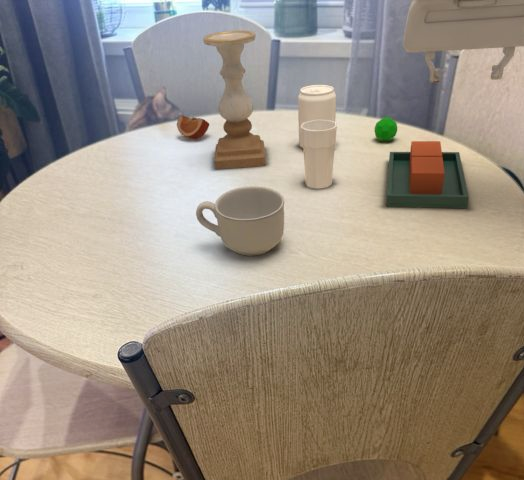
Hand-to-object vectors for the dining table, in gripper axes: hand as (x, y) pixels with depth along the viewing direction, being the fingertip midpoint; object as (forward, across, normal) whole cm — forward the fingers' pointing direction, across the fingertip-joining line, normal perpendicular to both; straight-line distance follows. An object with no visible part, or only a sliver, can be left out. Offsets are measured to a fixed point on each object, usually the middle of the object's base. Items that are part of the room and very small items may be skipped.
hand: (464, 80), depth 86 cm
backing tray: (+19, +4, -4) cm, 20 cm away
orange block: (+18, +4, -1) cm, 19 cm away
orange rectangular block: (+18, +4, -10) cm, 21 cm away
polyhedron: (+19, +12, -28) cm, 36 cm away
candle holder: (+18, +43, -16) cm, 50 cm away
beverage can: (+18, +27, -24) cm, 41 cm away
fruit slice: (+18, +58, -30) cm, 68 cm away
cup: (+18, +24, -3) cm, 31 cm away
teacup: (+18, +33, +23) cm, 44 cm away
